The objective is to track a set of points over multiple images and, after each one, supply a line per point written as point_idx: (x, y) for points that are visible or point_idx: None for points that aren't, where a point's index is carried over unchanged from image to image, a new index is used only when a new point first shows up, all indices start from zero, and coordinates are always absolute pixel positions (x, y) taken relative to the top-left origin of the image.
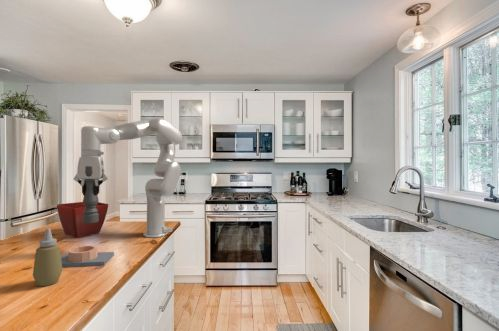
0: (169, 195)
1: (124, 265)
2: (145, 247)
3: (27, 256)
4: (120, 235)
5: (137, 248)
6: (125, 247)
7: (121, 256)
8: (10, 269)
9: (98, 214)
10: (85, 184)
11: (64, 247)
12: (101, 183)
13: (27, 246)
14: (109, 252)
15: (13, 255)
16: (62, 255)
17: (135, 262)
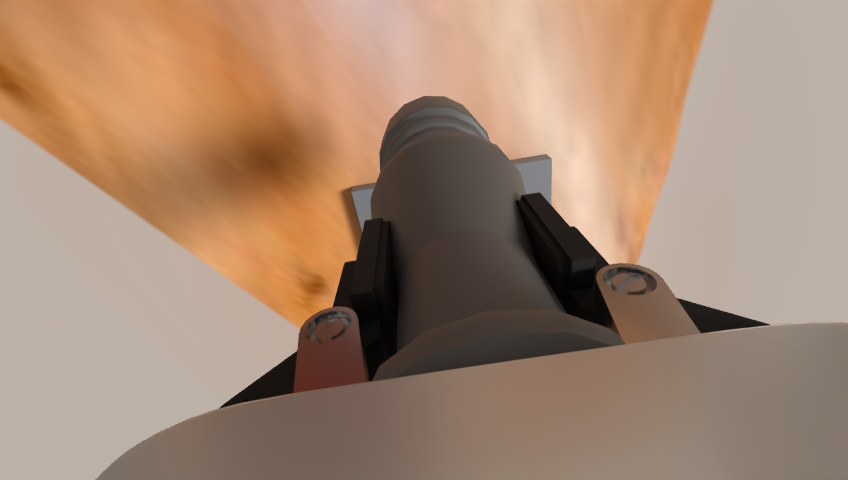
0: None
1: (611, 249)
2: (674, 21)
3: (196, 184)
4: None
5: (633, 42)
6: (568, 25)
7: (580, 165)
8: (272, 296)
9: (488, 138)
10: (378, 363)
11: (240, 41)
12: (704, 327)
13: (13, 29)
14: (535, 167)
15: (123, 176)
16: (363, 212)
17: (644, 223)
